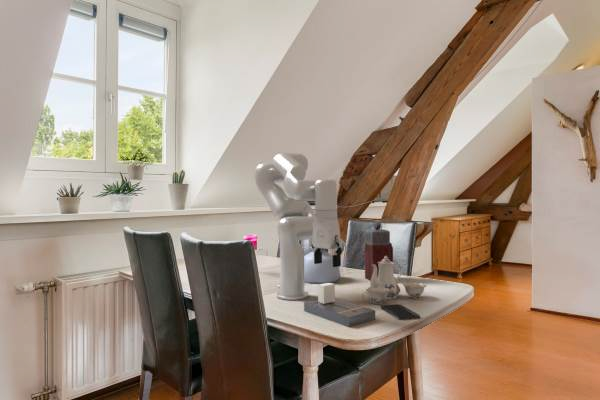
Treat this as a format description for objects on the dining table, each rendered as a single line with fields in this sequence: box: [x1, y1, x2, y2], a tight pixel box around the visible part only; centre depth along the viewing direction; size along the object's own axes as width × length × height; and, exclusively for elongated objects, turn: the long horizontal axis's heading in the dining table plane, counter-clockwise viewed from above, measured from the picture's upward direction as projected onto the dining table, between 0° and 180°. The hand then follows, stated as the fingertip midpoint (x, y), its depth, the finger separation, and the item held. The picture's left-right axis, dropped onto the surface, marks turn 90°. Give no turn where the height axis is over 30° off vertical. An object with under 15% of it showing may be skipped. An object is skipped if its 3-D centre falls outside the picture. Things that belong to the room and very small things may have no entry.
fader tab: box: [317, 283, 336, 304], centre depth 143 cm, size 3×5×6 cm, turn 127°
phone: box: [380, 303, 421, 321], centre depth 140 cm, size 8×1×15 cm
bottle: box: [304, 246, 341, 285], centre depth 196 cm, size 20×20×19 cm
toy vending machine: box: [364, 219, 394, 282], centre depth 195 cm, size 9×11×28 cm
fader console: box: [303, 298, 376, 328], centre depth 138 cm, size 22×12×3 cm, turn 37°
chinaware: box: [362, 256, 427, 305], centre depth 159 cm, size 28×17×17 cm, turn 122°
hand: (327, 265), depth 142 cm, fingers open, 9 cm apart
